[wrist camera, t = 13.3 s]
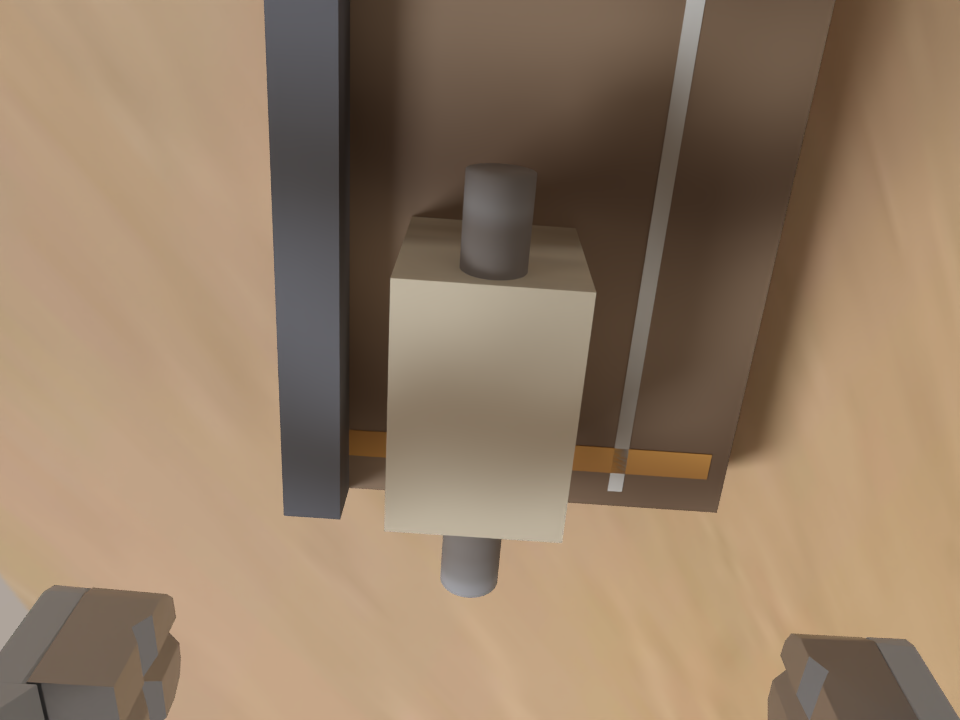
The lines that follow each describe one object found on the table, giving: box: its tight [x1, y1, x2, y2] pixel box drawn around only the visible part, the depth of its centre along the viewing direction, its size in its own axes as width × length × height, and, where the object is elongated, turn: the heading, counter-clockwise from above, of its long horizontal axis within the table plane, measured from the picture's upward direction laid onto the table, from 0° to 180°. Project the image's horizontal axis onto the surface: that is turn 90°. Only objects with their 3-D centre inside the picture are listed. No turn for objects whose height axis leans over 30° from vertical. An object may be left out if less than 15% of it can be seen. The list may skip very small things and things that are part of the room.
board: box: [264, 0, 835, 519], centre depth 19 cm, size 20×12×4 cm, turn 176°
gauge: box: [384, 163, 596, 598], centre depth 19 cm, size 10×4×4 cm, turn 176°
